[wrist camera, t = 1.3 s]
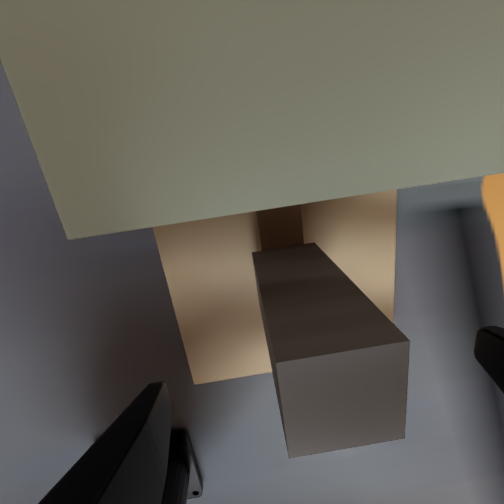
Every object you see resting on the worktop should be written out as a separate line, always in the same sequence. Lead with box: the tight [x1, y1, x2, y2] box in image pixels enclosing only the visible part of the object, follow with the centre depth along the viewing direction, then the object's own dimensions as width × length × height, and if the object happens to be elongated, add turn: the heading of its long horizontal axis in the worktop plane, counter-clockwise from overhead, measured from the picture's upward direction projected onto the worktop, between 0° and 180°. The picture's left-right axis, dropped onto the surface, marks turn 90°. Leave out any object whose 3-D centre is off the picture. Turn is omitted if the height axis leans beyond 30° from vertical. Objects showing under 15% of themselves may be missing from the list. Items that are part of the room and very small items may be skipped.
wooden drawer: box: [252, 204, 410, 458], centre depth 9 cm, size 13×8×8 cm, turn 8°
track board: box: [153, 189, 397, 385], centre depth 14 cm, size 22×12×2 cm, turn 8°
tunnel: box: [0, 0, 504, 240], centre depth 9 cm, size 7×12×7 cm, turn 98°
